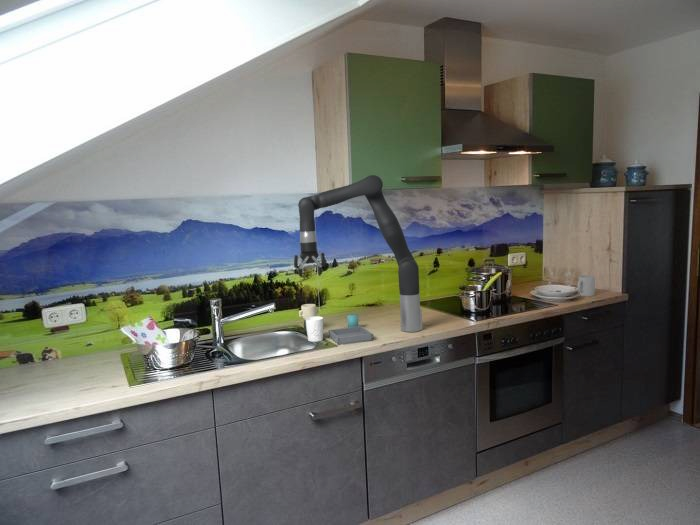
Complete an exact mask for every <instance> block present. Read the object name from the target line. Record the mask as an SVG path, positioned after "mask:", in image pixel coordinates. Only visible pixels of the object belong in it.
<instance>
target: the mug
mask: <svg viewBox="0 0 700 525" xmlns="http://www.w3.org/2000/svg"><path fill="white" fill-rule="evenodd" d="M595 279H596V278H595V275H579V276H578V281H577V291H578V293H579V292H580V295H581V296H582V297H594V296H595V294H596V292H595V291H596V290H595ZM580 295H579V296H580ZM581 296H580V297H581Z"/></svg>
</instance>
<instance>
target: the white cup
mask: <svg viewBox="0 0 700 525" xmlns="http://www.w3.org/2000/svg"><path fill="white" fill-rule="evenodd" d="M306 329H307V332H306V334H307V340H308V342H312V343H317V342H321V341H323V340H324V317H322V316H318V315H316V316H314V317H308V318H306Z"/></svg>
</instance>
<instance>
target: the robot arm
mask: <svg viewBox="0 0 700 525" xmlns="http://www.w3.org/2000/svg"><path fill="white" fill-rule="evenodd" d="M383 184H384V183H383V179H382V178H380V176H378V175H375V174H369V175H367V176H366V177H365V178H362V179H360V180H358V181H356V182H353V183H350V184H347V185H344V186H340V187H336V188H333V189H329V190H326V191H322V192H320V193H317V194H314V195H310V196H305V197H302V198H301V199H300V200H299V201H298V203H297V205H298V213H299V245H300V246H299V247H300V254H294V255H293V264H294V265H293V267H294V268H295V269H298V276H299V277H300V278H303V269H302V268H303V267H304V266H305V265H306V264H314V263H315V265H316V266H317V275H318V276H322V274H323V269H322V268H323V267H324V266H326V256H325V253H324V252H320V253H319V252H318V244H317V240H318V238H317V232H316V224H315V211H316V210H319V209H322V208H323V209H324V208H328V207H332V206H336V205H338V204H341V203H344V202H346V201H348V200H351V199H354V198H358V197H361V196H362V197H363V196H364V197H365V198H366V200H367V201H368V203H369V205H370V207H371V209H372V211H373V215H374V217H375V220H376V223H377V225H378V228H379V231H380V232H381V235H382V237H383V239H384V241H385V242H386V243H387V245H388V247H389V249H390V250H391V251H392V253H393V255H394V257H395V260H396V264H397V266H398V270H397V272H398V274H397V275H398V290H399V307H400V308H399V310H400V330H401V332H406V333H415V332H416V333H417V332H420V331H423V310H422V309H421V299H420V295H421V294H420V272H419V270H420V269H419V265H418V262H417V261H416V259H415V258H414V257H413V254H412V252H411V251H410V248H409V247H408V244H407V240H406V237H405V235H404V232H403V229H402V226H401V224H400V222H399V220H398V218H397V216H396V214H395V213H394V211H393V210H392V209H391V207H390V206H389V205H388V203H387V201H386V199H385V196H384V193H383V188H384V187H383V186H384V185H383ZM318 257H319V258H320V259H321V261H320V262H321V263H320V262H319V260H318V259H319V258H318ZM300 259H301V261H300V263H299V260H300ZM298 263H299V265H298Z"/></svg>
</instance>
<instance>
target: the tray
mask: <svg viewBox="0 0 700 525" xmlns="http://www.w3.org/2000/svg"><path fill="white" fill-rule="evenodd" d="M328 337H329V339H331V340H332V341H333V342H335V344H336V343H337V344H336V345H337V346H341V344H343V345H348V344H349V345H350V344H356V343H364V342H372V341H374V333H372V332H371V331H369V329H367V328H365V327H364V326H362V325H359V326H358V327H350V328H348V327H344V328H335V329H328Z"/></svg>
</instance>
